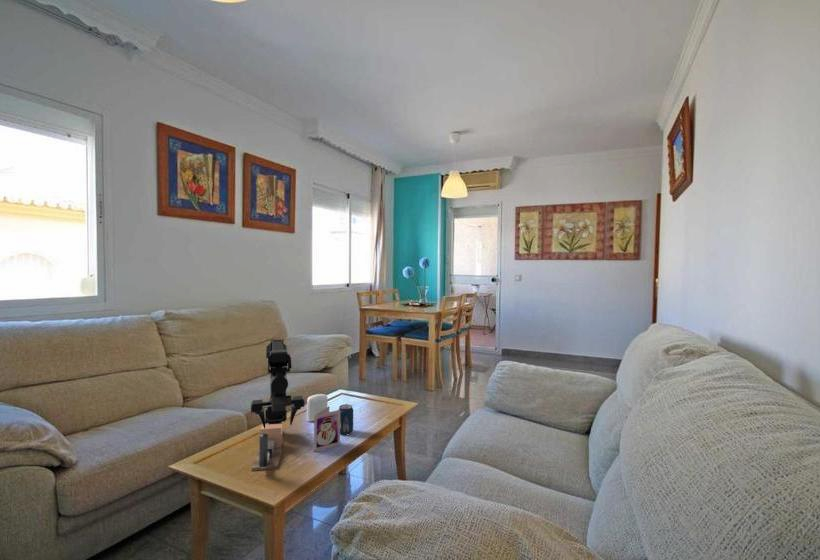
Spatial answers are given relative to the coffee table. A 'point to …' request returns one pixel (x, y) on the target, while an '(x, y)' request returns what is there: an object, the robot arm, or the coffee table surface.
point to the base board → (271, 462)
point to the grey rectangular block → (272, 446)
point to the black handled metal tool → (263, 451)
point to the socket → (273, 433)
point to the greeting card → (326, 429)
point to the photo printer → (315, 405)
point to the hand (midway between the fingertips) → (277, 426)
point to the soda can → (346, 419)
